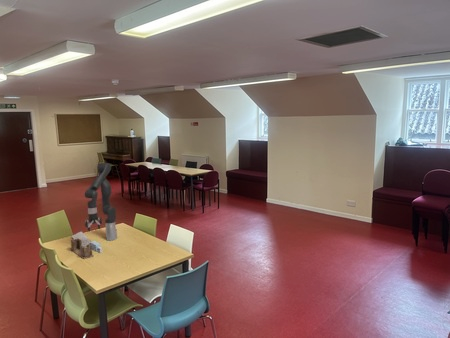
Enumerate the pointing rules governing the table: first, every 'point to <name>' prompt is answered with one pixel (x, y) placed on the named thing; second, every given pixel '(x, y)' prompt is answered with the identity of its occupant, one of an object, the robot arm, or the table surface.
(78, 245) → the brown wooden block
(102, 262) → the table surface
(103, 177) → the robot arm
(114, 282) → the table surface
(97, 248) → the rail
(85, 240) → the decorative molding
